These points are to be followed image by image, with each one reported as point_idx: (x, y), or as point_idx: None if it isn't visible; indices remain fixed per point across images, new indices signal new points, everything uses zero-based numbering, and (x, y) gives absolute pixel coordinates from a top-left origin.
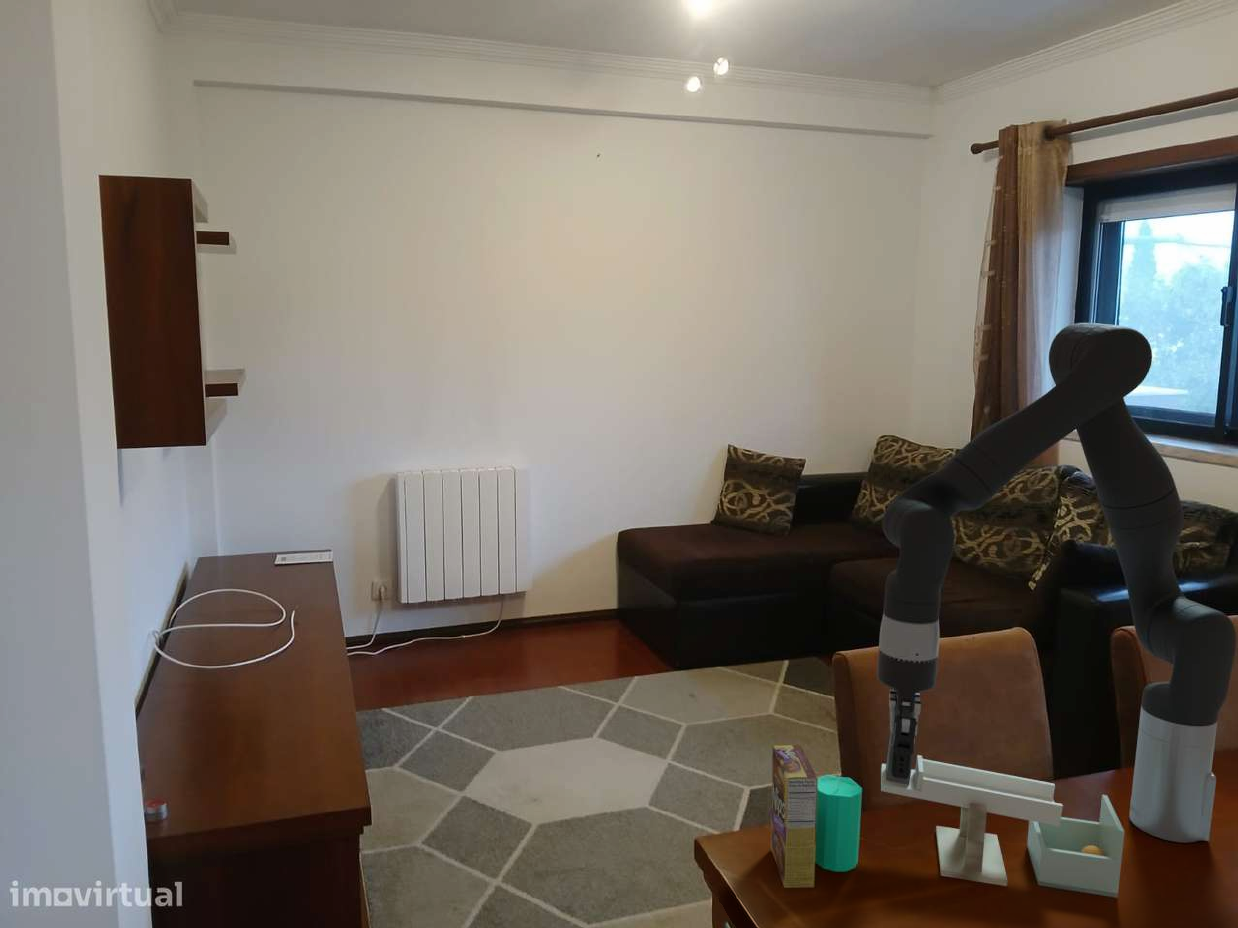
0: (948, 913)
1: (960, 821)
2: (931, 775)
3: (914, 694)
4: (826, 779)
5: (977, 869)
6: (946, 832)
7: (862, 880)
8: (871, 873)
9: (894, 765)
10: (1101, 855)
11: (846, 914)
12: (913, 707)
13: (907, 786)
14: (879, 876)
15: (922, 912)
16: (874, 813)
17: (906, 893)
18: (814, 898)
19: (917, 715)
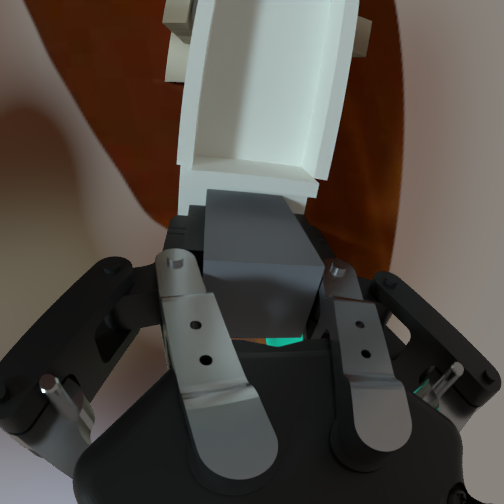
0: (395, 117)
1: (184, 40)
2: (202, 120)
3: (465, 494)
4: (276, 344)
5: None
6: (186, 65)
7: (329, 214)
8: (313, 201)
9: None
10: None
11: (389, 237)
12: (460, 436)
13: (292, 201)
14: (320, 191)
15: (393, 151)
16: (132, 183)
17: (357, 161)
18: (361, 267)
19: (393, 378)
